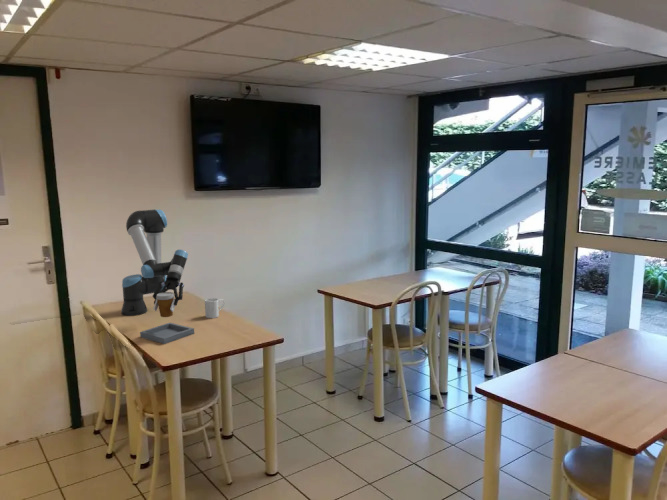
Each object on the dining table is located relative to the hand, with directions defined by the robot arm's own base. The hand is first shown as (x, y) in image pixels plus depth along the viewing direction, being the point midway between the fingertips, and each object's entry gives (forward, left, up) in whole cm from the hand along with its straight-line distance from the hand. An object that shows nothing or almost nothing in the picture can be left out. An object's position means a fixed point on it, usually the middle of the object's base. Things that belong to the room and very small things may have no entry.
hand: (163, 310), depth 283 cm
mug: (-7, +43, -15) cm, 46 cm away
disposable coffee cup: (-1, +3, -4) cm, 5 cm away
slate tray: (-2, +3, -15) cm, 16 cm away
